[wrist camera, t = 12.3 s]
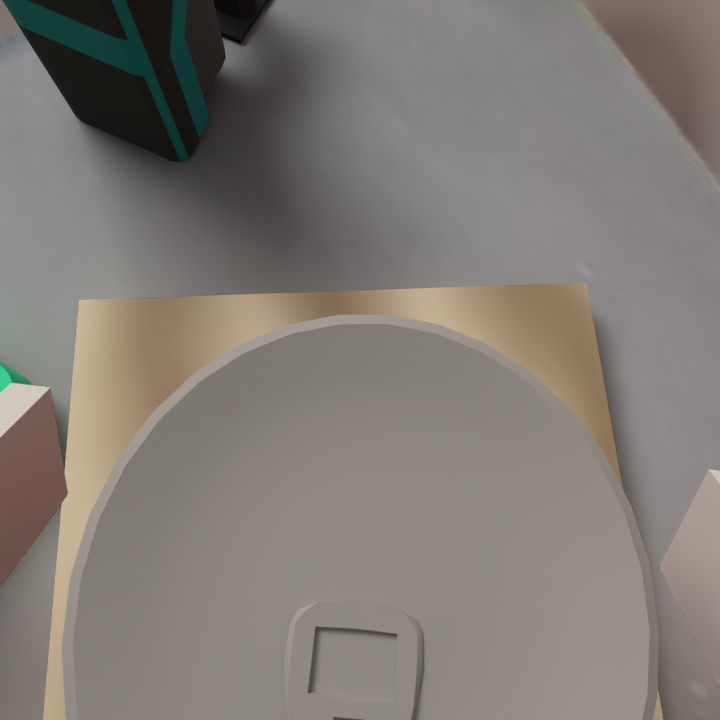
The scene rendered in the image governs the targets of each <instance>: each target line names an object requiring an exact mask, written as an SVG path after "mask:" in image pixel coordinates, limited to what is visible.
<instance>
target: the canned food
mask: <svg viewBox="0 0 720 720" xmlns="http://www.w3.org/2000/svg"><path fill="white" fill-rule="evenodd" d="M62 660H63V679H64V698H65V715H66V719H67V720H653V716H654V711H655V706H656V701H657V692H658V660H659V624H658V616H657V609H656V602H655V595H654V588H653V580H652V573H651V566H650V563H649V560H648V557H647V554H646V550H645V547H644V544H643V541H642V538H641V535H640V531H639V528H638V525H637V522H636V519H635V516H634V512H633V509H632V506H631V504H630V503H629V501H628V499H627V497H626V495H625V493H624V491H623V489H622V487H621V485H620V483H619V481H618V479H617V477H616V475H615V473H614V471H613V469H612V468H611V466H610V464H609V462H608V460H607V458H606V456H605V454H604V453H603V451H602V450H601V449H600V447H599V446H598V445H597V443H596V442H595V441H594V439H593V438H592V437H591V435H590V434H589V433H588V431H587V430H586V429H585V427H584V426H583V425H582V423H581V422H580V421H579V420H578V418H577V417H576V416H575V414H574V413H573V412H572V410H571V409H570V408H569V407H568V406H567V405H566V404H565V403H564V402H563V401H562V400H560V399H559V398H558V397H557V396H556V395H555V394H554V393H553V392H552V391H551V390H550V389H549V388H548V387H546V386H545V385H544V384H543V383H542V382H541V381H540V380H539V379H538V378H537V377H536V376H535V375H534V374H532V373H531V372H530V371H529V370H527V369H526V368H524V367H522V366H521V365H519V364H518V363H516V362H515V361H513V360H511V359H510V358H508V357H507V356H505V355H504V354H502V353H500V352H499V351H497V350H496V349H494V348H493V347H491V346H489V345H488V344H486V343H484V342H481V341H479V340H476V339H474V338H471V337H469V336H466V335H464V334H461V333H459V332H456V331H454V330H451V329H449V328H446V327H444V326H441V325H439V324H435V323H429V322H424V321H419V320H414V319H408V318H403V317H398V316H393V315H335V316H330V317H325V318H320V319H314V320H309V321H304V322H299V323H294V324H289V325H286V326H284V327H281V328H279V329H276V330H274V331H271V332H269V333H266V334H264V335H261V336H259V337H257V338H254V339H252V340H249V341H247V342H244V343H242V344H239V345H238V346H236V347H235V348H233V349H232V350H230V351H228V352H227V353H225V354H224V355H222V356H221V357H219V358H218V359H216V360H214V361H213V362H211V363H210V364H208V365H207V366H205V367H204V368H202V369H201V370H199V371H197V372H196V373H194V374H193V375H192V376H191V377H190V378H189V379H188V380H187V381H186V382H185V383H183V384H182V385H181V386H180V387H179V388H178V389H177V390H176V391H175V392H174V393H173V394H172V395H171V396H170V397H169V398H167V399H166V400H165V401H164V402H163V403H162V404H161V405H160V406H159V407H158V408H157V409H156V410H155V411H154V412H153V413H152V414H151V415H150V417H149V418H148V419H147V421H146V422H145V423H144V425H143V426H142V427H141V429H140V430H139V431H138V433H137V434H136V435H135V437H134V438H133V439H132V441H131V442H130V443H129V445H128V446H127V447H126V449H125V450H124V451H123V453H122V454H121V455H120V457H119V458H118V459H117V461H116V463H115V465H114V467H113V469H112V471H111V473H110V475H109V477H108V479H107V481H106V483H105V485H104V487H103V489H102V491H101V493H100V495H99V497H98V499H97V501H96V503H95V505H94V507H93V509H92V511H91V513H90V515H89V517H88V521H87V524H86V527H85V530H84V534H83V537H82V540H81V543H80V547H79V550H78V553H77V557H76V560H75V563H74V566H73V570H72V573H71V576H70V582H69V590H68V598H67V606H66V614H65V622H64V630H63V638H62Z"/></svg>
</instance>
